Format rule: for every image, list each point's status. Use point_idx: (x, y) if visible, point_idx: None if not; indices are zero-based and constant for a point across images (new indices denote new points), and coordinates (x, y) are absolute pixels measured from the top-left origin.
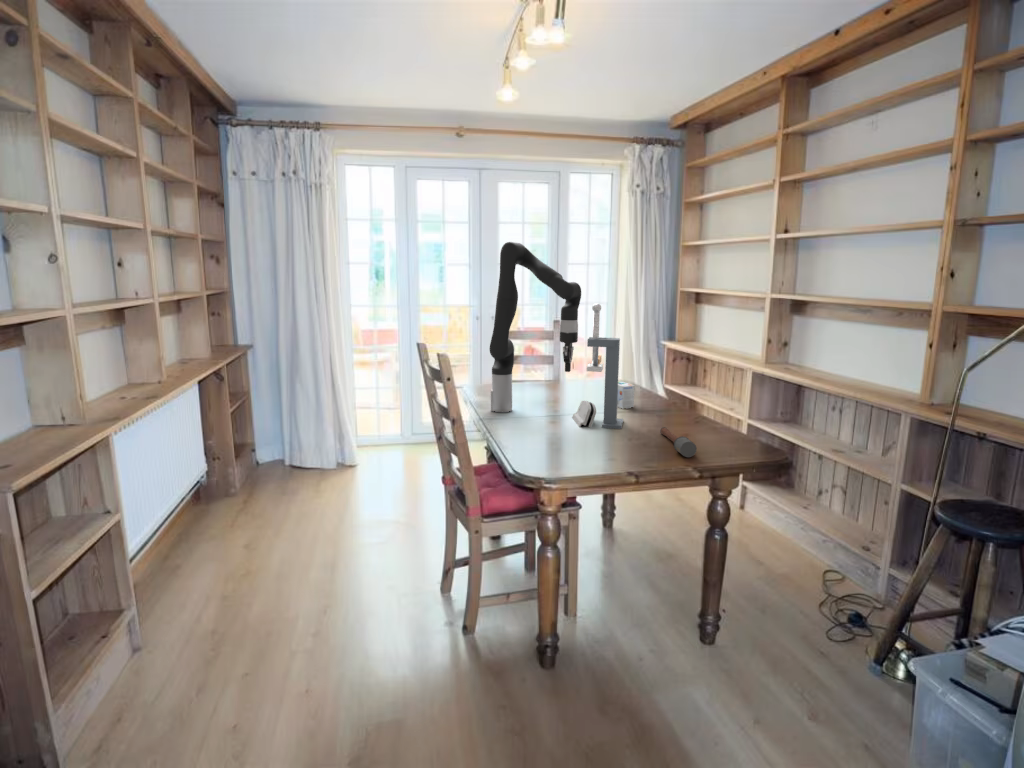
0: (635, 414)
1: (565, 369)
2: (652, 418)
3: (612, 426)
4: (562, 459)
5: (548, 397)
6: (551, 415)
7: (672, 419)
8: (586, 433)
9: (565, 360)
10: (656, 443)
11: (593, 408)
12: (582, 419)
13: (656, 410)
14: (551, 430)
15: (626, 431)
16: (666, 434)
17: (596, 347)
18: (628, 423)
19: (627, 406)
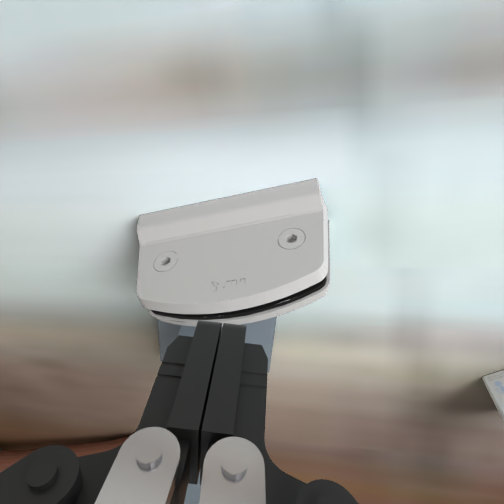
0: (382, 405)
1: (194, 342)
2: (325, 437)
3: (160, 334)
4: None
5: None
6: (358, 50)
7: (317, 473)
8: (56, 243)
9: (15, 501)
10: (43, 413)
11: (171, 317)
12: (175, 240)
13: (440, 458)
14: (32, 83)
15: (138, 363)
16: (86, 448)
17: None
18: None
19: (492, 399)
